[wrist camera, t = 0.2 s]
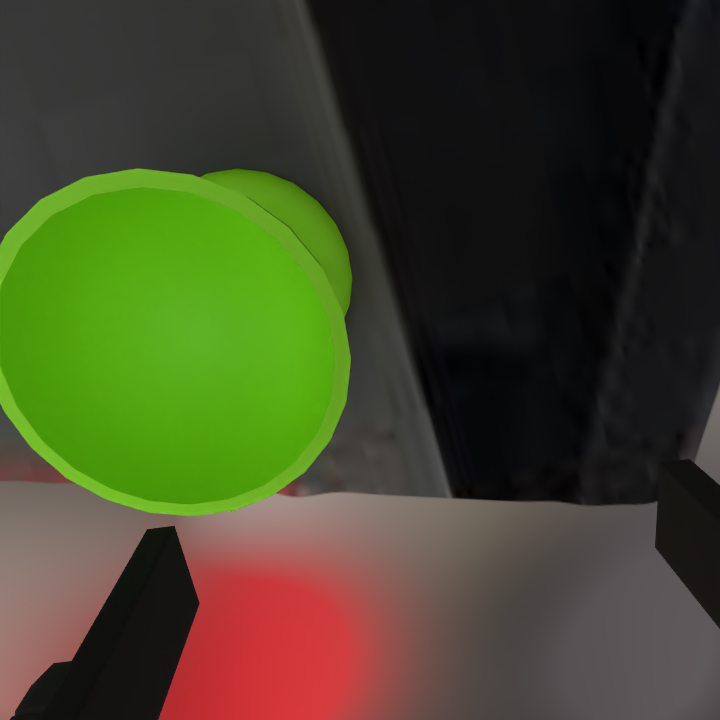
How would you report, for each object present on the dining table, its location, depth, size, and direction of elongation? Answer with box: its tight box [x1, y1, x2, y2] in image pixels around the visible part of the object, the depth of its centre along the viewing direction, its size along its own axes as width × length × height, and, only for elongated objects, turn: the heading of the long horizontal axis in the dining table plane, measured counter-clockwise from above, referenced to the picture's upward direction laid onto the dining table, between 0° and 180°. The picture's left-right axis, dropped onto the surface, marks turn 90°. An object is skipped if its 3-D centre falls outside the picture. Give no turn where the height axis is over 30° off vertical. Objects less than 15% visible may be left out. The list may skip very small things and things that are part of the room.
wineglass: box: [0, 169, 352, 516], centre depth 31 cm, size 16×16×18 cm
